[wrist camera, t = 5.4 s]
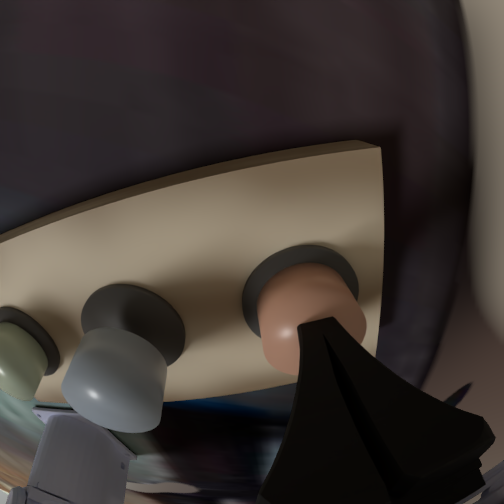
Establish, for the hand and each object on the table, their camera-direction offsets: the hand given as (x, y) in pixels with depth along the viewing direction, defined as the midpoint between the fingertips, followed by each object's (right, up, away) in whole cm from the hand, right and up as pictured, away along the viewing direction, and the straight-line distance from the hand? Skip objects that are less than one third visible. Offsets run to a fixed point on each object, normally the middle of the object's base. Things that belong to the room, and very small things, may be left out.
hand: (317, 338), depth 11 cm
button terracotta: (0, +1, +2) cm, 2 cm away
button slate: (-8, -2, +1) cm, 8 cm away
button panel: (-8, +1, +5) cm, 10 cm away
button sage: (-16, -2, +2) cm, 16 cm away
